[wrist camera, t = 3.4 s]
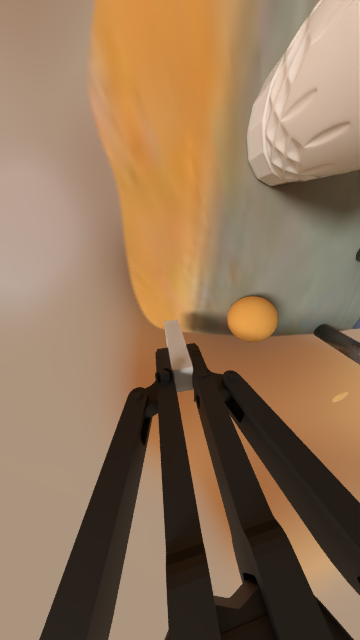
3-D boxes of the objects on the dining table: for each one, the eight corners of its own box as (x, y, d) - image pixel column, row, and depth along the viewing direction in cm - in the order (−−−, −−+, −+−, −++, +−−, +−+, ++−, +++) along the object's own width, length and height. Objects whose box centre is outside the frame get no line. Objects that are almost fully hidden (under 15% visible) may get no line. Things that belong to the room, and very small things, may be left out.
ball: (263, 287, 19) (298, 306, 15) (253, 323, 22) (280, 348, 18) (222, 291, 19) (246, 312, 14) (218, 327, 22) (237, 355, 17)
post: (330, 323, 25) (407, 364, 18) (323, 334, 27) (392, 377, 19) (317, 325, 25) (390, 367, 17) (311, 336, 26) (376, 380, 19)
